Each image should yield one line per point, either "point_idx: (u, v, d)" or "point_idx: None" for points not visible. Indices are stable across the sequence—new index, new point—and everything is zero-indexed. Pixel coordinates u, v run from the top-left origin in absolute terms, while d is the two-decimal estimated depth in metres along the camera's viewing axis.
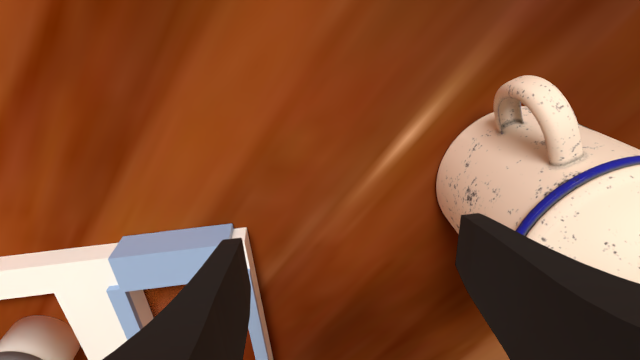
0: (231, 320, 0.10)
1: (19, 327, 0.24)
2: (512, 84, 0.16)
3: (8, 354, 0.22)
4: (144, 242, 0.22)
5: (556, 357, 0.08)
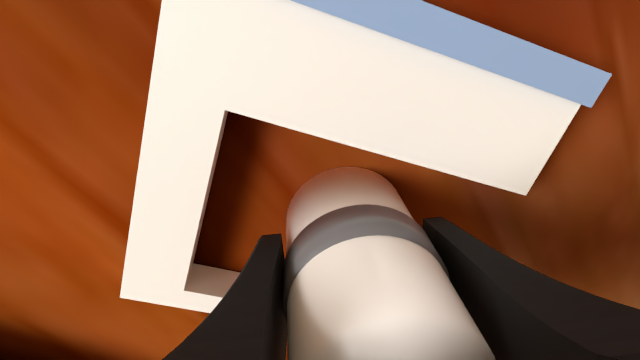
0: (278, 315, 0.10)
1: (287, 227, 0.13)
2: None
3: (293, 246, 0.11)
4: None
5: None
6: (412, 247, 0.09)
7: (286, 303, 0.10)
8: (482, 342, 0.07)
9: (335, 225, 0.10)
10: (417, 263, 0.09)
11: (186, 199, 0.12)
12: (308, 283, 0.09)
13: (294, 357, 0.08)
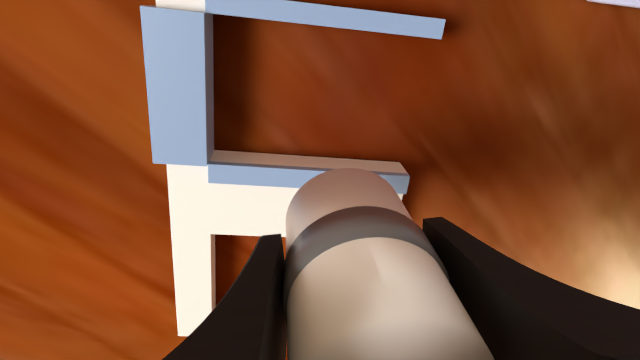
0: (278, 315, 0.10)
1: (286, 227, 0.13)
2: None
3: (293, 247, 0.11)
4: None
5: None
6: (412, 249, 0.09)
7: (286, 304, 0.10)
8: (482, 344, 0.07)
9: (335, 226, 0.10)
10: (417, 265, 0.09)
11: (201, 279, 0.21)
12: (308, 284, 0.09)
13: (294, 358, 0.08)
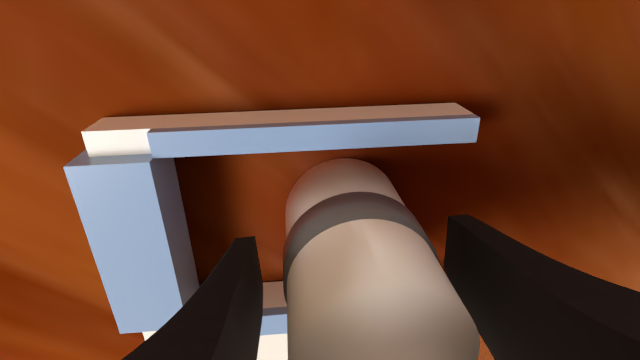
0: (247, 318, 0.10)
1: (286, 214, 0.14)
2: None
3: (292, 230, 0.11)
4: None
5: (538, 359, 0.08)
6: (403, 230, 0.10)
7: (286, 282, 0.11)
8: (465, 312, 0.08)
9: (332, 210, 0.11)
10: (407, 243, 0.09)
11: None
12: (307, 261, 0.10)
13: (294, 326, 0.08)
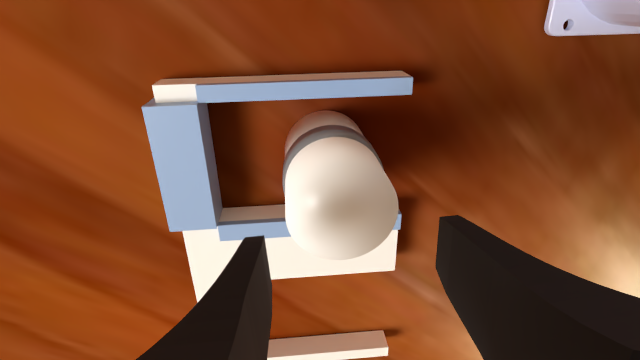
0: (258, 317, 0.10)
1: (285, 149, 0.20)
2: None
3: (289, 150, 0.17)
4: None
5: None
6: (358, 143, 0.16)
7: (284, 180, 0.17)
8: (387, 179, 0.14)
9: (314, 133, 0.17)
10: (358, 148, 0.15)
11: None
12: (297, 160, 0.16)
13: (288, 190, 0.15)
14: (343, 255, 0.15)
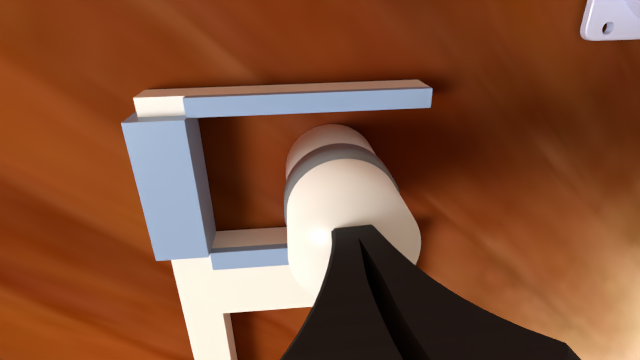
0: None
1: (286, 167, 0.17)
2: None
3: (291, 172, 0.15)
4: None
5: None
6: (371, 166, 0.14)
7: (286, 208, 0.14)
8: (408, 212, 0.12)
9: (320, 154, 0.14)
10: (372, 173, 0.13)
11: (220, 354, 0.21)
12: (301, 187, 0.13)
13: (291, 225, 0.12)
14: None
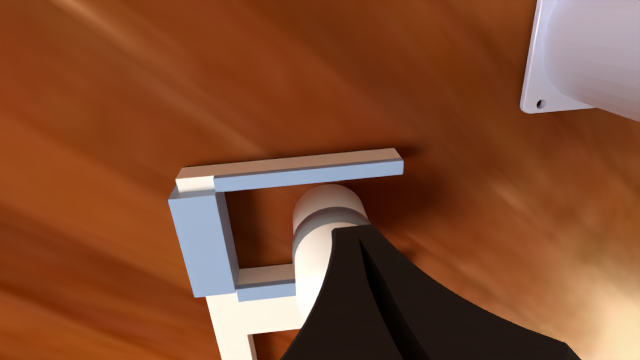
0: None
1: (293, 220, 0.22)
2: None
3: (296, 230, 0.20)
4: None
5: None
6: None
7: (294, 259, 0.19)
8: None
9: (318, 218, 0.19)
10: None
11: None
12: (304, 246, 0.18)
13: (298, 278, 0.17)
14: None
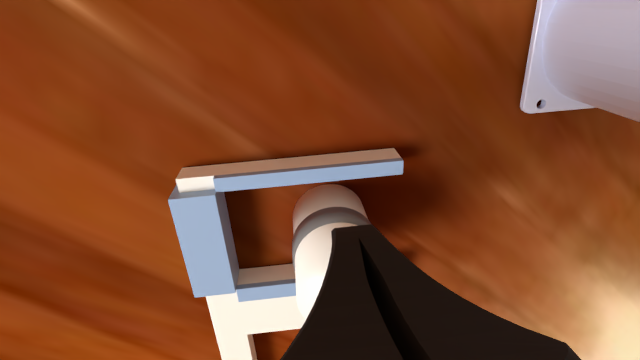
0: None
1: (293, 220, 0.22)
2: None
3: (297, 230, 0.20)
4: None
5: None
6: None
7: (294, 259, 0.19)
8: None
9: (318, 218, 0.19)
10: None
11: None
12: (304, 246, 0.18)
13: (298, 278, 0.17)
14: None
